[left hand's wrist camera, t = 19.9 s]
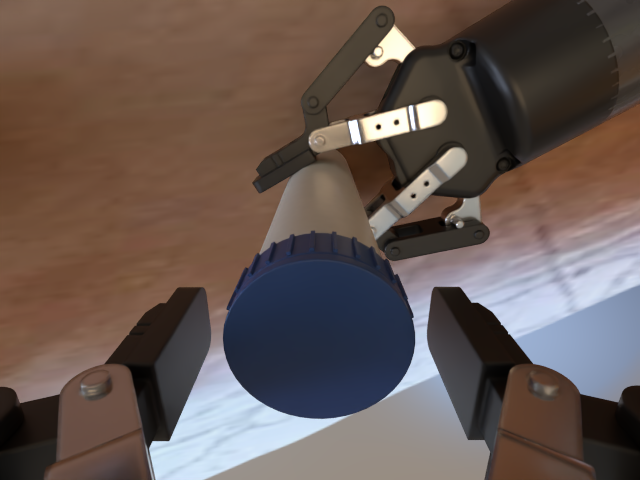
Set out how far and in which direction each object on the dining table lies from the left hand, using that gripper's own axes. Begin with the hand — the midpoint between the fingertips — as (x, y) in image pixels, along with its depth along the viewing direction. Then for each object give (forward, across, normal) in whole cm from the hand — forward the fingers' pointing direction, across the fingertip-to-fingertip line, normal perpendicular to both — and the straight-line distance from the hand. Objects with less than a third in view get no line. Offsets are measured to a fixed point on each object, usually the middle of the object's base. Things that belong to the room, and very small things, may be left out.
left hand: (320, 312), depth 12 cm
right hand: (+11, -2, 0) cm, 11 cm away
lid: (-2, 0, +1) cm, 3 cm away
